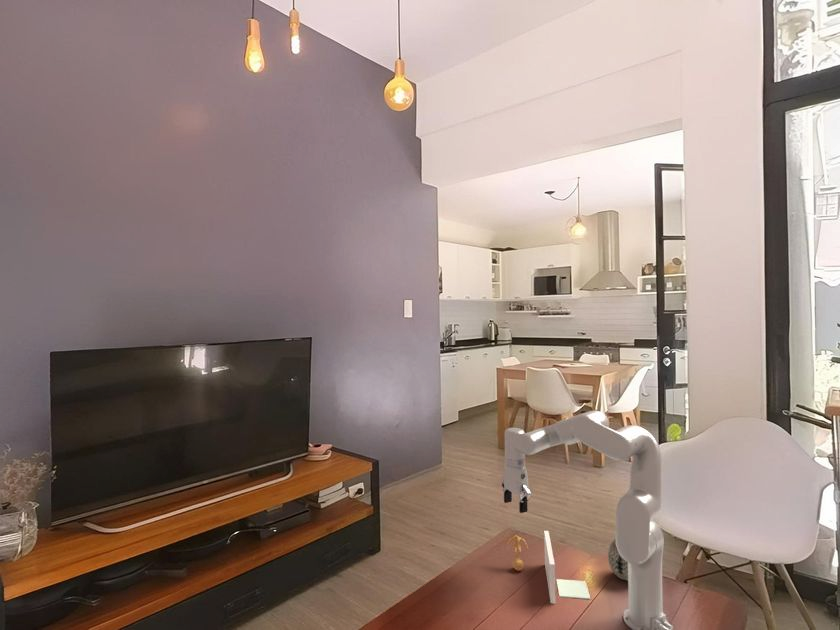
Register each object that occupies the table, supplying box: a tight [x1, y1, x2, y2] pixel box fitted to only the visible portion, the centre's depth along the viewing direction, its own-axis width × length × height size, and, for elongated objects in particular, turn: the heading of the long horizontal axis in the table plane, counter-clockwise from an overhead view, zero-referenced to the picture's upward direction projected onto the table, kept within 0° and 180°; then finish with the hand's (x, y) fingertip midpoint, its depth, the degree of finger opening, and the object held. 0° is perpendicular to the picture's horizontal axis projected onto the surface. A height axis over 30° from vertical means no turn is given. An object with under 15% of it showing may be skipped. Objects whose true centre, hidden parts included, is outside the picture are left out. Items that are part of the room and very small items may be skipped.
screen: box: [543, 530, 556, 605], centre depth 168 cm, size 24×2×13 cm, turn 170°
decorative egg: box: [607, 539, 628, 582], centre depth 170 cm, size 12×12×15 cm
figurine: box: [505, 534, 529, 572], centre depth 178 cm, size 8×6×12 cm
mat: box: [555, 578, 591, 600], centre depth 164 cm, size 10×10×1 cm
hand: (515, 507), depth 178 cm, fingers open, 9 cm apart
